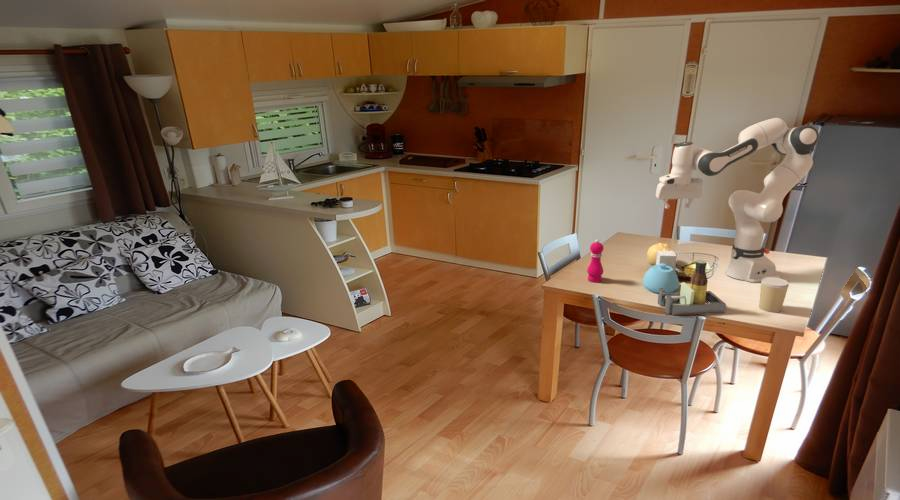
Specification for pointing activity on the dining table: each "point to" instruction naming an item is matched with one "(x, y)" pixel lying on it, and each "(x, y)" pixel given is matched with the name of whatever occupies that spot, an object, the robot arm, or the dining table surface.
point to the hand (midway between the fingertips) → (677, 207)
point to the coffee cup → (772, 294)
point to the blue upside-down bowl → (661, 279)
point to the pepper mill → (595, 262)
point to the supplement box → (666, 258)
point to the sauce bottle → (699, 282)
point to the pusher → (685, 294)
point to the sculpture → (653, 252)
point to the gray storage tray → (686, 309)
